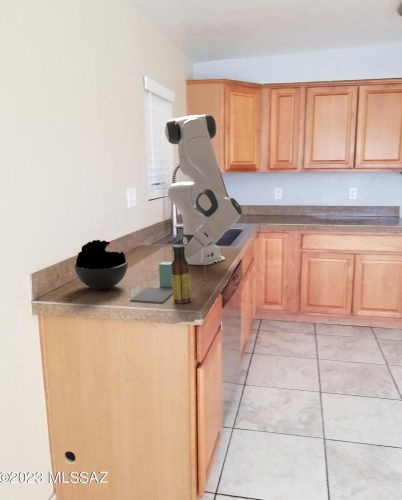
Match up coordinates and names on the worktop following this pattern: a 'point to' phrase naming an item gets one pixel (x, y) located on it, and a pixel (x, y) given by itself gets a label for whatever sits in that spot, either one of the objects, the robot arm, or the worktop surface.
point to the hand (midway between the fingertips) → (183, 258)
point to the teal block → (165, 274)
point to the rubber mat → (153, 295)
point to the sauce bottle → (180, 276)
